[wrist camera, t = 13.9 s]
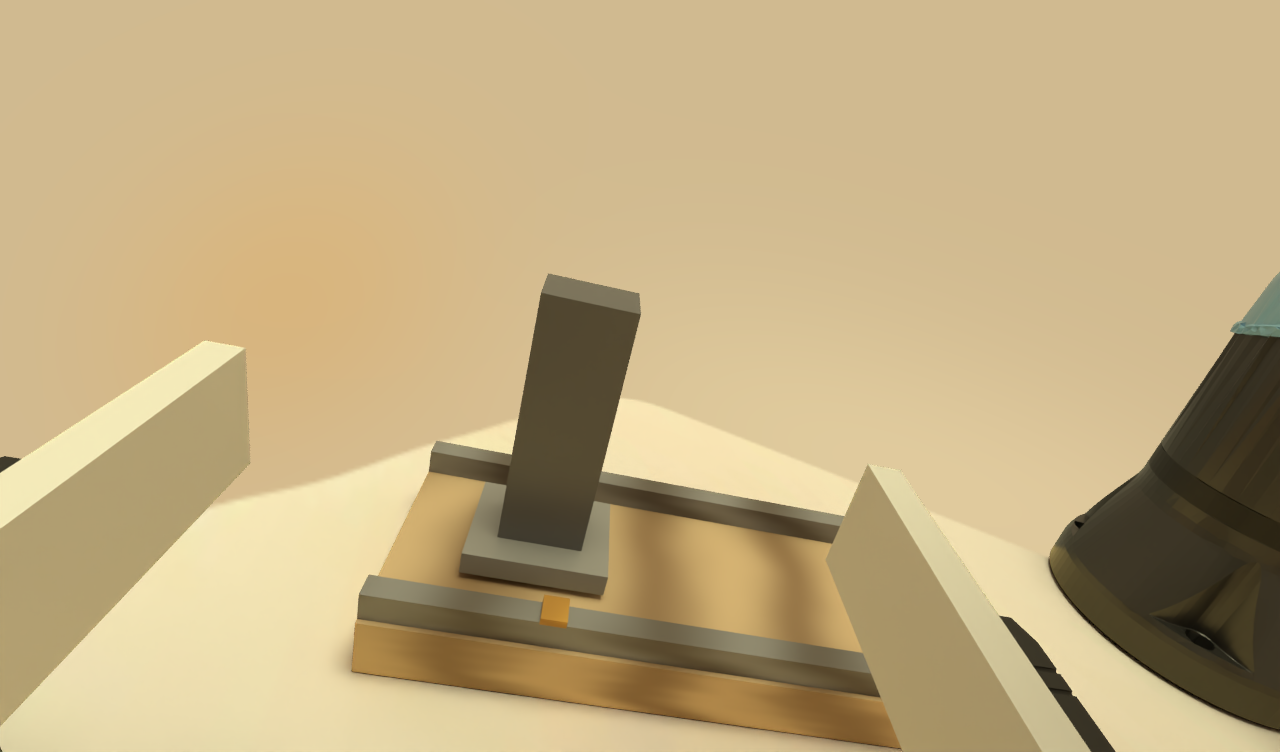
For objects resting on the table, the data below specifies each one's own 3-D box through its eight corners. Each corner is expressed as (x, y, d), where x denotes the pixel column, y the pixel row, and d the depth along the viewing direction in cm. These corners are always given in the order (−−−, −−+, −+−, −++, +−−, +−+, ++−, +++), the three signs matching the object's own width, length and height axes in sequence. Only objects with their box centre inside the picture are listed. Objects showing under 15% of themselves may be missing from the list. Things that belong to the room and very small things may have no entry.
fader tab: (605, 520, 31) (666, 290, 27) (603, 595, 27) (675, 334, 22) (482, 498, 31) (522, 257, 26) (458, 571, 26) (500, 297, 21)
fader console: (851, 571, 37) (878, 516, 35) (936, 753, 27) (978, 688, 26) (430, 497, 34) (438, 433, 33) (351, 671, 24) (357, 592, 23)
